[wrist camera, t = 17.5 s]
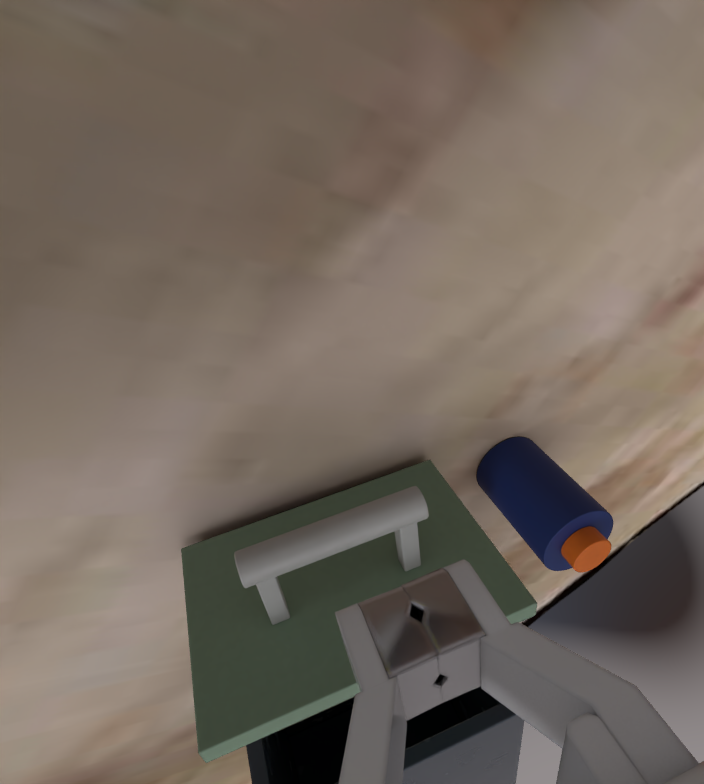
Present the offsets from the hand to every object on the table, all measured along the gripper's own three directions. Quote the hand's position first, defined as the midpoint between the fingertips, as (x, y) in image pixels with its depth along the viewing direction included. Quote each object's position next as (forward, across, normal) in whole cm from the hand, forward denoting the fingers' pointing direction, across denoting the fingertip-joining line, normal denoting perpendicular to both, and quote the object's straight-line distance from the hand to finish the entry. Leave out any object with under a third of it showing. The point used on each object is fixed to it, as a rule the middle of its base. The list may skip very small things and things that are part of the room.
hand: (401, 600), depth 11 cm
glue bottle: (+14, -12, +12) cm, 22 cm away
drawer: (+13, 0, +14) cm, 19 cm away
